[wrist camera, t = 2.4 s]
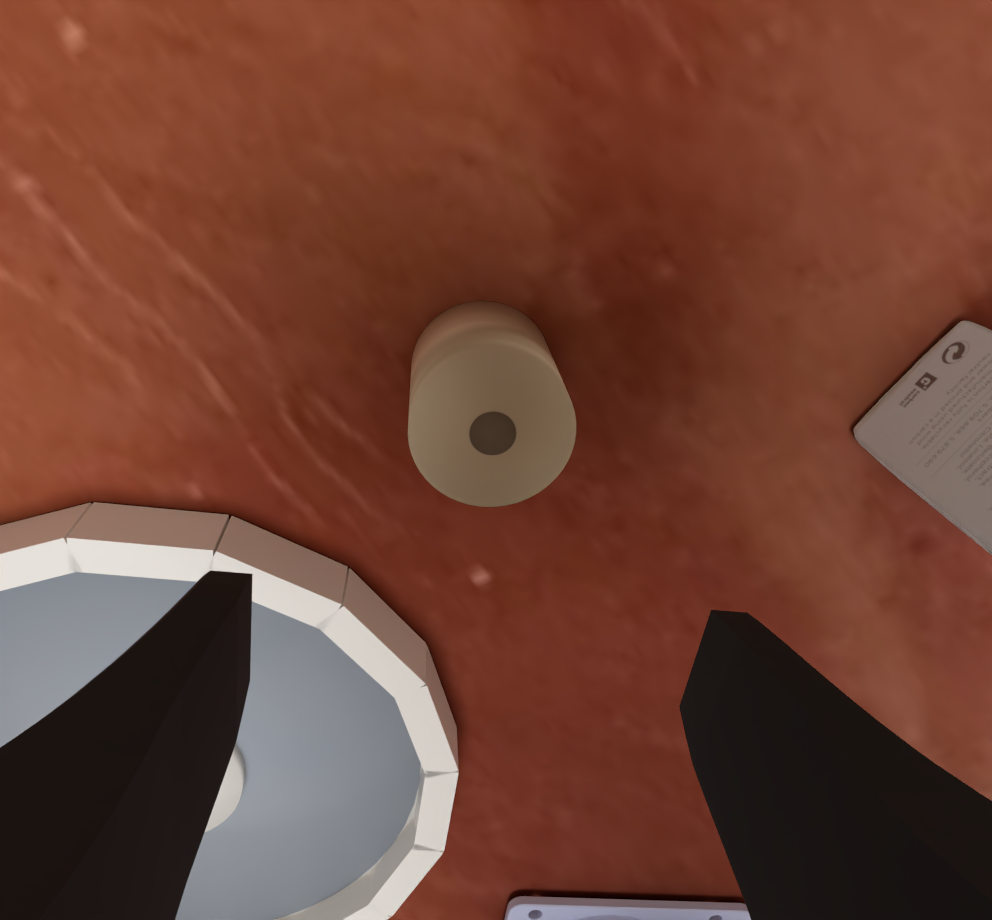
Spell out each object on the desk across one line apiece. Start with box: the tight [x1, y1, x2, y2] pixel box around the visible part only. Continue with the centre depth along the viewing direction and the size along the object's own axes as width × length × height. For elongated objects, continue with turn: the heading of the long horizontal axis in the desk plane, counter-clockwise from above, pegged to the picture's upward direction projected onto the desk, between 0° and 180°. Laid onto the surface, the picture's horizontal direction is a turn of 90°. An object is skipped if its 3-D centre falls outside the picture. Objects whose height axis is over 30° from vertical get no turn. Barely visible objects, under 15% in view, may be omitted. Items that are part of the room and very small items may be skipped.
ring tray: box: [0, 502, 459, 920], centre depth 25 cm, size 18×18×2 cm
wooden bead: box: [408, 301, 576, 507], centre depth 19 cm, size 4×4×4 cm
